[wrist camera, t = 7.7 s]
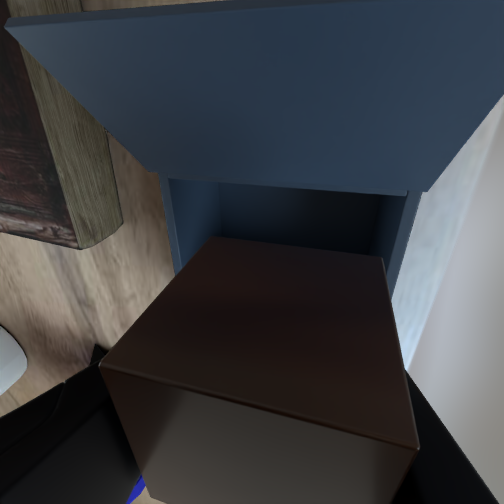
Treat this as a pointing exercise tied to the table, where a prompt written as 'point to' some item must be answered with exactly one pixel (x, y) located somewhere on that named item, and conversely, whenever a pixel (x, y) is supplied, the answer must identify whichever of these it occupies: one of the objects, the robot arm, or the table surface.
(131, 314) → the table surface
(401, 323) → the table surface
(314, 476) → the block
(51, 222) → the hardback book
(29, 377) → the table surface
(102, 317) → the table surface
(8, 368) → the white plastic bottle
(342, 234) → the carton
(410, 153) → the box lid
